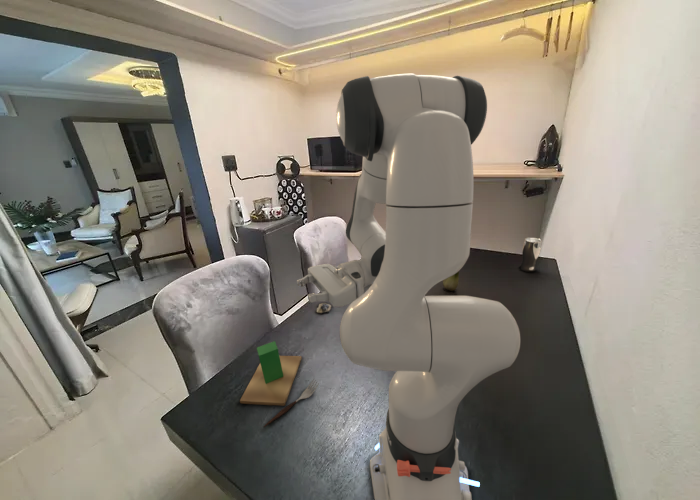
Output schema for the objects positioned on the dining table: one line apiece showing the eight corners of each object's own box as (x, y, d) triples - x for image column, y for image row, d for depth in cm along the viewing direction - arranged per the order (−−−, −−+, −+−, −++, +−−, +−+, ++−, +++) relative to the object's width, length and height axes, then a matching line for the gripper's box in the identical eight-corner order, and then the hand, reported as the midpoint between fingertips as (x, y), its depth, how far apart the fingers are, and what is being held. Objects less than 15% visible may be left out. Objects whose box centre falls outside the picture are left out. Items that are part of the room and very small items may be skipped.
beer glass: (515, 268, 128) (521, 239, 122) (524, 264, 130) (530, 236, 125) (529, 273, 122) (536, 243, 116) (539, 270, 124) (546, 240, 119)
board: (284, 405, 67) (284, 403, 66) (240, 403, 68) (239, 400, 68) (301, 358, 82) (301, 356, 81) (264, 357, 83) (264, 355, 83)
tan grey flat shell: (316, 315, 102) (316, 311, 101) (313, 304, 109) (313, 301, 108) (333, 312, 103) (333, 308, 103) (329, 301, 111) (329, 297, 110)
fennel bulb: (458, 290, 112) (461, 265, 107) (449, 293, 110) (451, 267, 106) (449, 284, 117) (451, 260, 113) (440, 287, 115) (442, 262, 111)
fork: (261, 425, 63) (259, 419, 62) (314, 383, 73) (313, 378, 72) (266, 432, 61) (264, 426, 60) (320, 388, 71) (319, 383, 70)
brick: (265, 384, 72) (258, 355, 69) (263, 375, 75) (256, 347, 72) (283, 376, 74) (277, 348, 71) (280, 368, 77) (274, 340, 74)
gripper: (332, 255, 84) (290, 266, 78) (365, 281, 67) (315, 297, 61) (334, 273, 86) (293, 285, 81) (366, 302, 69) (317, 320, 64)
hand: (303, 290), depth 71 cm, fingers open, 8 cm apart
